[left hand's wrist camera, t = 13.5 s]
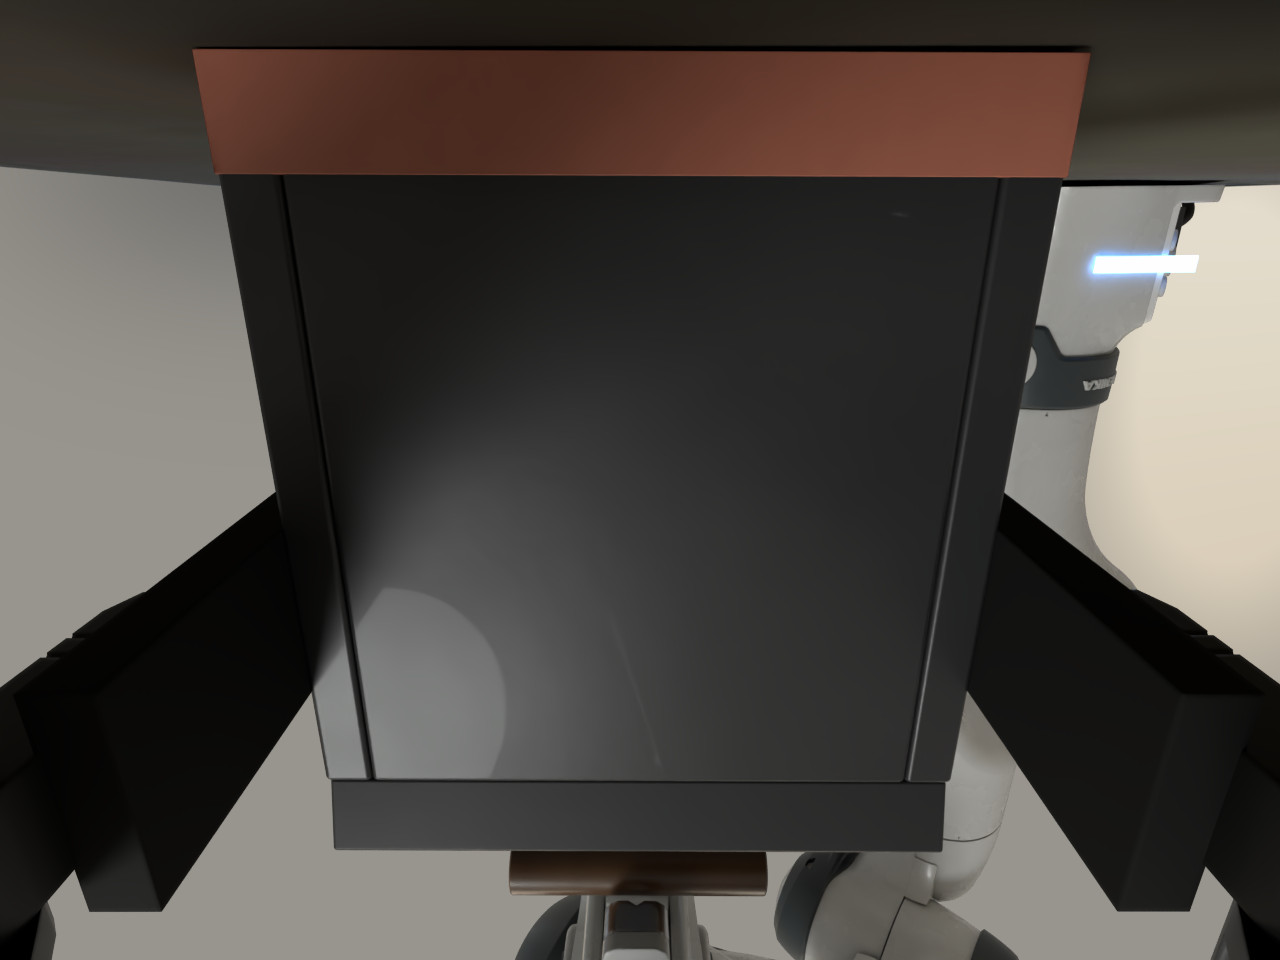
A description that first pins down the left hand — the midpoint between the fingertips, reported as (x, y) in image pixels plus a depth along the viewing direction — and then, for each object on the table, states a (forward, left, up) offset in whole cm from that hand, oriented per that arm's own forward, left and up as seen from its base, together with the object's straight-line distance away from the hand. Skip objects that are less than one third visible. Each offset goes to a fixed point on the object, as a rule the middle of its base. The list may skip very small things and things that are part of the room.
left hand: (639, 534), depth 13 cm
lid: (+2, +3, +5) cm, 6 cm away
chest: (+2, +2, -7) cm, 8 cm away
